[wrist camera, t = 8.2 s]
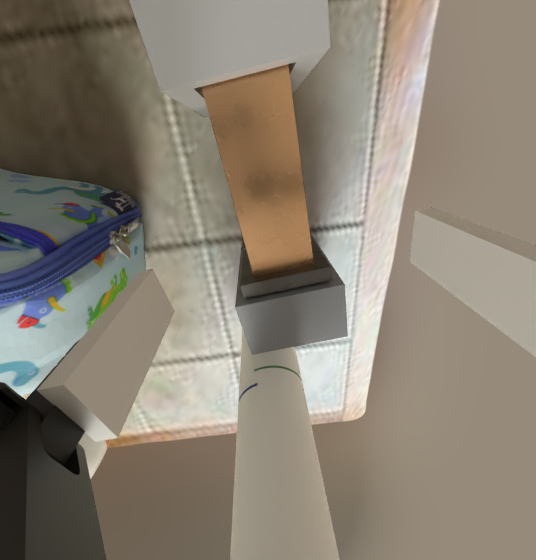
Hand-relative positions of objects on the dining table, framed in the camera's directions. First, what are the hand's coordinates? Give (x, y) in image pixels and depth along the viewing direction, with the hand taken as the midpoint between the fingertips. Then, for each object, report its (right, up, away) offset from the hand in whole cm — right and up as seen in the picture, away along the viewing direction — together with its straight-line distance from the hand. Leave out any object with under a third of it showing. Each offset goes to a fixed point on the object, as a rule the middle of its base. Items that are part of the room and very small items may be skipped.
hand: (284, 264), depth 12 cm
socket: (+1, +2, +19) cm, 19 cm away
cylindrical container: (-1, -8, +24) cm, 26 cm away
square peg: (-1, +7, +10) cm, 13 cm away
